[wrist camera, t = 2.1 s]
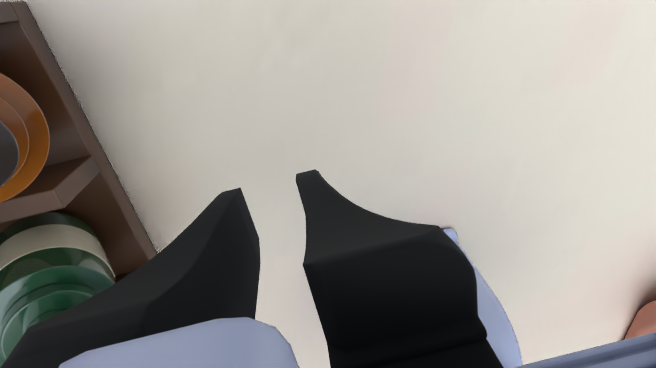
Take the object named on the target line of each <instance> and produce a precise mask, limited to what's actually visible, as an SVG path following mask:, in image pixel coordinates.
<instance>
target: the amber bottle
mask: <svg viewBox="0 0 656 368" xmlns="http://www.w3.org/2000/svg"><path fill="white" fill-rule="evenodd" d="M49 147H50V135H49V128H48V125H47V122H46V119H45V117H44V115H43V113H42V111H41V109H40V108H39V106H38V105H37V103H36V102H35V100H34V99H33V98H32V97H31V96H30V95H29V94H28V93H27V92H26V91H25V90H24V89H23V88H22V87H21V86H20V85H18V84H17V83H15V82H14V81H13V80H11V79H10V78H8V77H6V76H5V75H3V74H1V73H0V203H2V202H4V201H6V200H8V199H10V198H12V197H14V196H15V195H17V194H18V193H20V192H22V191H23V190H24V189H25V188H27V187H28V186H29V185H30V184H31V183H32V182H33V181H34V180H35V179H36V178H37V176H38V175H39V173H40V172H41V171H42V169H43V167H44V165H45V163H46V160H47V157H48V154H49Z"/></svg>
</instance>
